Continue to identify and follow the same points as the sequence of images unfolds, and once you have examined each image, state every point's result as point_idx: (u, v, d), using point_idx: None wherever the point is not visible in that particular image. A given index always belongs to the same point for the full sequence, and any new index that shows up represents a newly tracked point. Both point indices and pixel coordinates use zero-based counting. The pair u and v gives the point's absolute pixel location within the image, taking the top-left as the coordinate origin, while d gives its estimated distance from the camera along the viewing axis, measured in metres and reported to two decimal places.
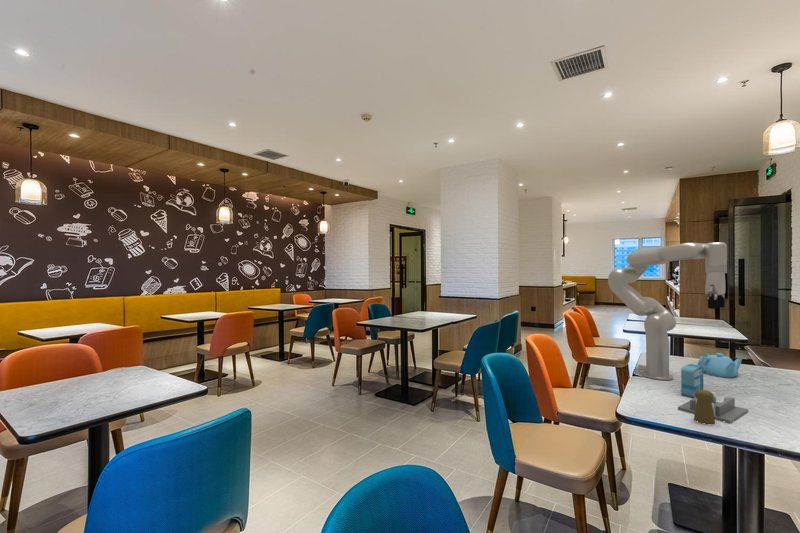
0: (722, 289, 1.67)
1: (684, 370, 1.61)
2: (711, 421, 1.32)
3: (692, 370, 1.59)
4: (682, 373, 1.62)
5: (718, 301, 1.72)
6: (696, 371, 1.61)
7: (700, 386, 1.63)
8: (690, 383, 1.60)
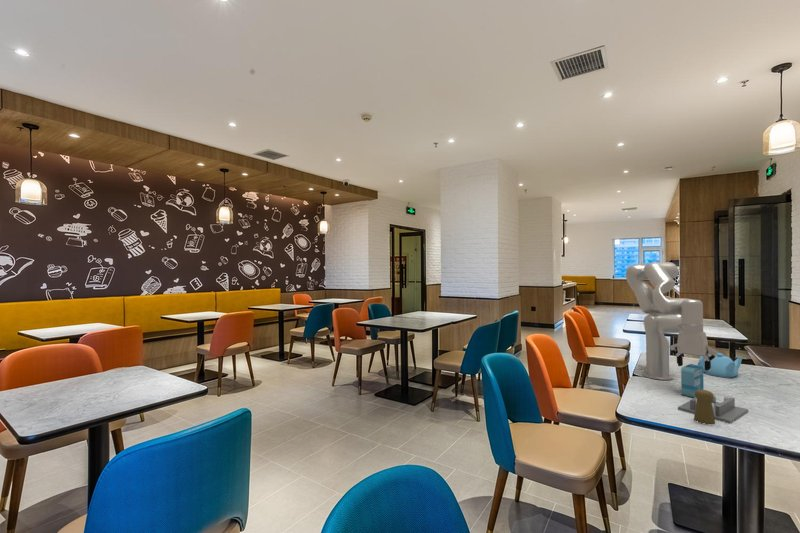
0: None
1: (684, 370, 1.61)
2: (711, 421, 1.32)
3: (692, 370, 1.59)
4: (682, 373, 1.62)
5: (680, 360, 1.67)
6: (696, 371, 1.61)
7: (700, 386, 1.63)
8: (690, 383, 1.60)
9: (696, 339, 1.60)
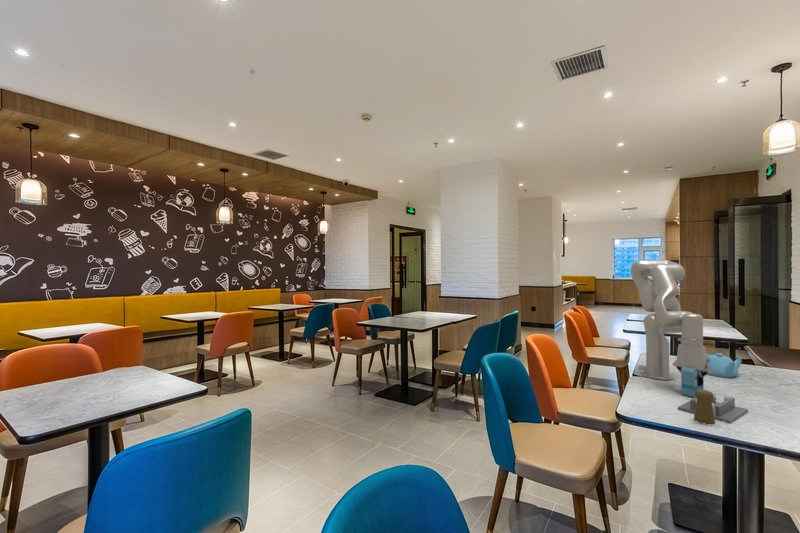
0: None
1: (684, 370, 1.61)
2: (711, 421, 1.32)
3: (692, 370, 1.59)
4: (682, 373, 1.62)
5: None
6: (696, 371, 1.61)
7: (700, 386, 1.63)
8: (690, 383, 1.60)
9: (696, 354, 1.60)
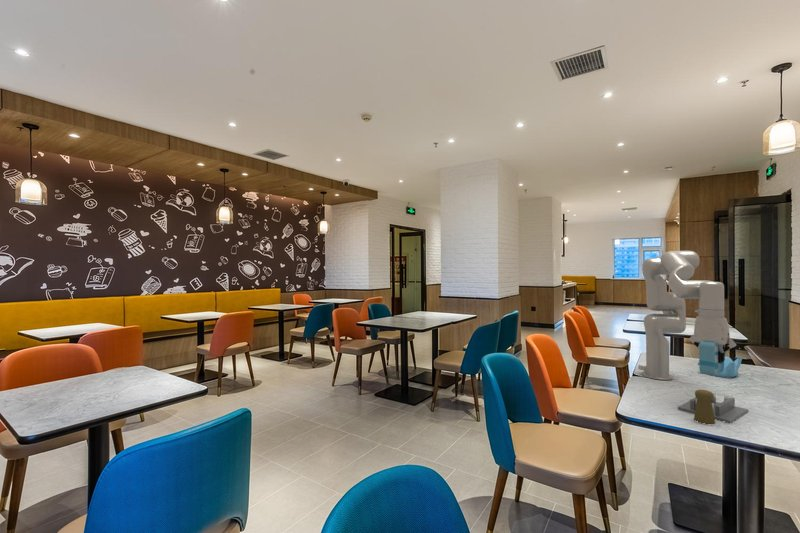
0: None
1: (703, 345, 1.42)
2: (711, 421, 1.32)
3: (712, 344, 1.40)
4: (700, 348, 1.43)
5: None
6: (717, 346, 1.42)
7: (721, 363, 1.44)
8: (709, 359, 1.41)
9: (716, 326, 1.42)
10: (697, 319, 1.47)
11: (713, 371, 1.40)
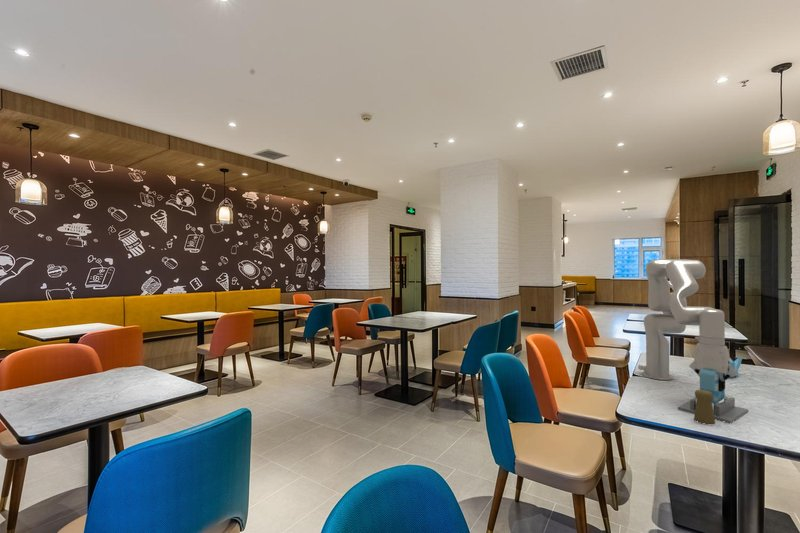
0: None
1: (703, 373, 1.42)
2: (711, 421, 1.32)
3: (713, 373, 1.40)
4: (701, 376, 1.43)
5: None
6: (717, 374, 1.42)
7: (721, 391, 1.44)
8: (710, 387, 1.41)
9: (716, 354, 1.41)
10: (697, 346, 1.47)
11: (713, 400, 1.40)
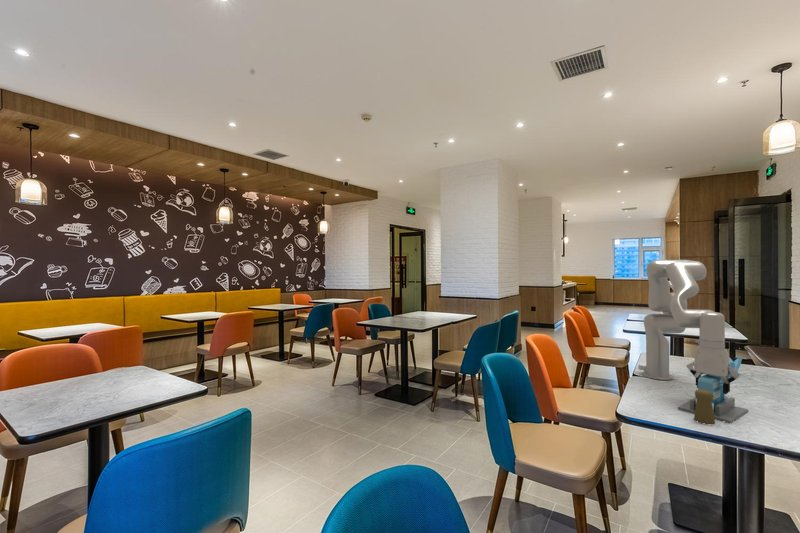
0: None
1: (701, 381, 1.43)
2: (711, 421, 1.32)
3: (711, 381, 1.41)
4: (699, 384, 1.43)
5: None
6: (716, 382, 1.42)
7: (720, 399, 1.44)
8: None
9: (716, 357, 1.41)
10: (697, 349, 1.47)
11: None
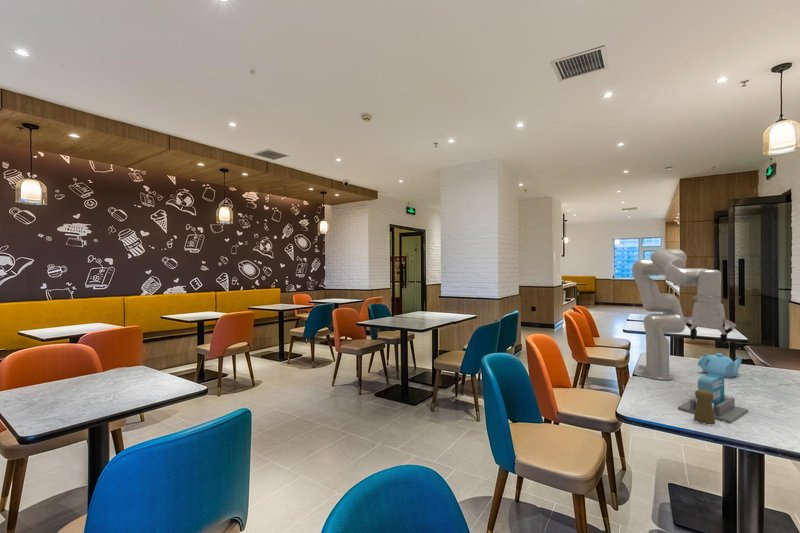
0: None
1: (701, 381, 1.43)
2: (711, 421, 1.32)
3: (711, 381, 1.41)
4: (699, 384, 1.43)
5: (694, 333, 1.58)
6: (716, 382, 1.42)
7: (720, 399, 1.44)
8: None
9: (713, 311, 1.51)
10: (695, 305, 1.56)
11: None
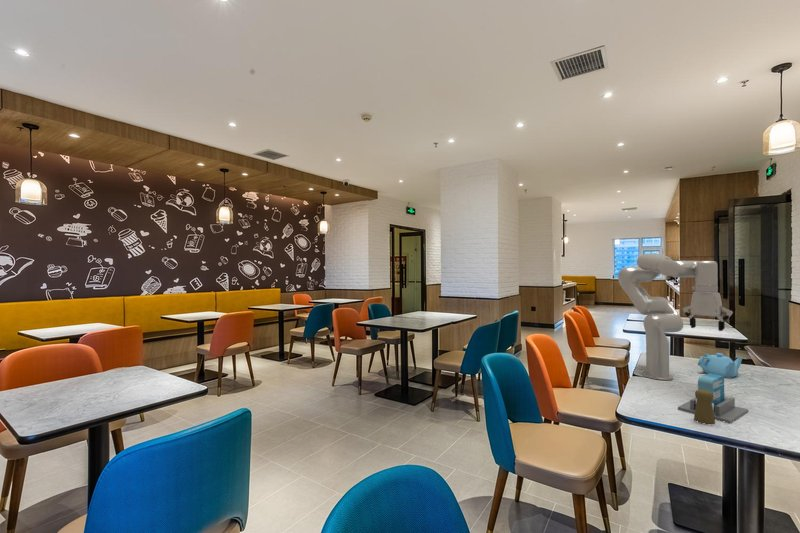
0: None
1: (701, 381, 1.43)
2: (711, 421, 1.32)
3: (711, 381, 1.41)
4: (699, 384, 1.43)
5: (693, 321, 1.66)
6: (716, 382, 1.42)
7: (720, 399, 1.44)
8: None
9: (710, 300, 1.59)
10: (693, 294, 1.65)
11: None
